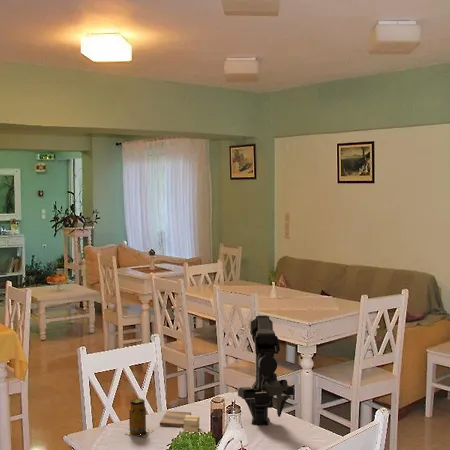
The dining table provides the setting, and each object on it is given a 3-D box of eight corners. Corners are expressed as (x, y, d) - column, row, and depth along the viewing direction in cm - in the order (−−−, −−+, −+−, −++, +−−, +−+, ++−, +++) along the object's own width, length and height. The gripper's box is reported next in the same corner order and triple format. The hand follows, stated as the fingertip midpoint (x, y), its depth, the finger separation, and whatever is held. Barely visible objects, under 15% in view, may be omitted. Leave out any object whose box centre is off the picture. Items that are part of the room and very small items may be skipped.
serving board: (166, 414, 244) (166, 411, 244) (191, 415, 243) (191, 412, 243) (159, 425, 232) (159, 422, 232) (185, 427, 231) (185, 423, 231)
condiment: (134, 427, 231) (134, 396, 231) (154, 430, 228) (154, 399, 227) (124, 434, 225) (124, 402, 224) (144, 437, 221) (144, 405, 221)
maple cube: (186, 428, 231) (186, 415, 230) (199, 428, 230) (199, 415, 230) (183, 433, 226) (183, 420, 225) (197, 433, 225) (197, 420, 225)
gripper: (250, 374, 194) (250, 424, 192) (302, 371, 201) (302, 420, 199) (237, 370, 204) (237, 418, 203) (286, 367, 211) (287, 413, 209)
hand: (266, 417), depth 203 cm, fingers open, 9 cm apart
